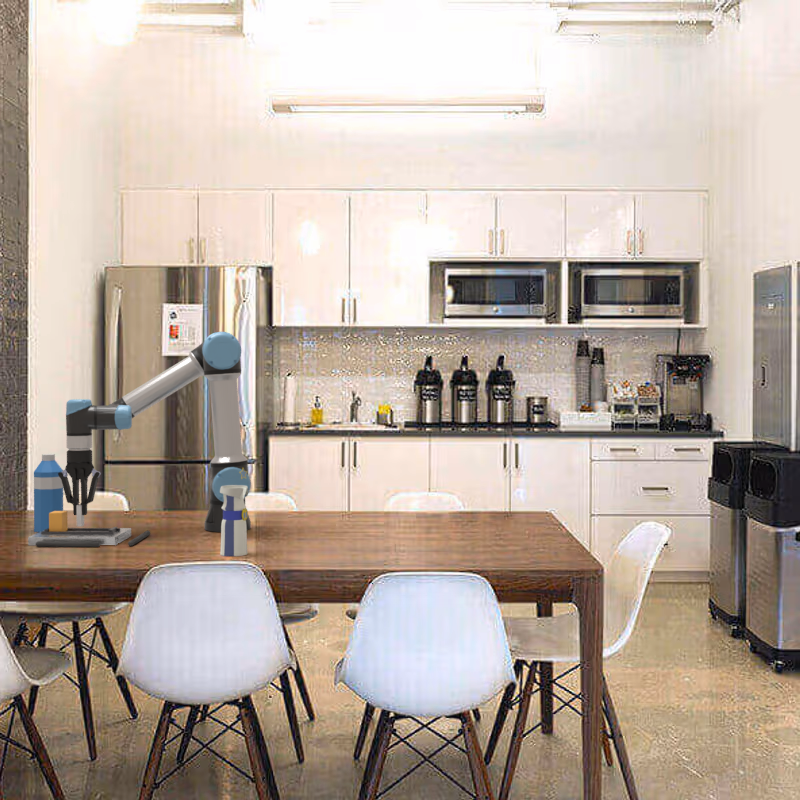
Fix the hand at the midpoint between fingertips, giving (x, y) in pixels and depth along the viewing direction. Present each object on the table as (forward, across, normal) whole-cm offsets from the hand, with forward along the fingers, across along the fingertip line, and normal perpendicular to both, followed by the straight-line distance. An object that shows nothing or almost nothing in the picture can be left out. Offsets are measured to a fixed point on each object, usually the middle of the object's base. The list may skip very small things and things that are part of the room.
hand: (80, 525), depth 311 cm
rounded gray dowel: (+5, -18, 0) cm, 19 cm away
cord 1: (+5, 0, +12) cm, 12 cm away
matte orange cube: (+2, +7, 0) cm, 7 cm away
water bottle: (+5, +17, -20) cm, 26 cm away
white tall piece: (+5, -51, +22) cm, 56 cm away
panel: (+5, 0, 0) cm, 5 cm away
